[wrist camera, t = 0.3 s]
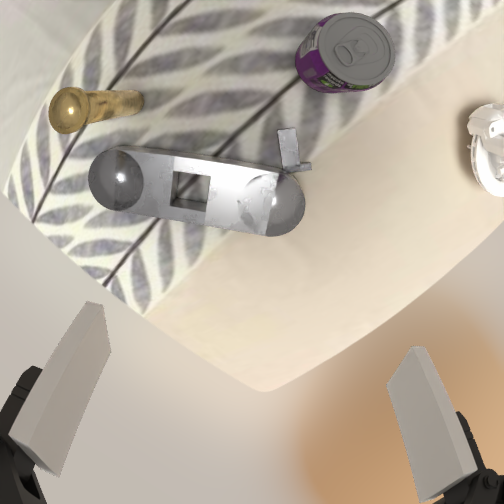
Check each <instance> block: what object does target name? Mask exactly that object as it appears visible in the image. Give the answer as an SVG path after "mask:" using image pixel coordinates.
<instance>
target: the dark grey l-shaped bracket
mask: <svg viewBox="0 0 504 504" xmlns="http://www.w3.org/2000/svg"><path fill="white" fill-rule="evenodd" d="M277 132H278V139H279V145H280V152H281V159H282V165H283V171H286V172H287V173H290V172H298V171H306V170H312V169H311V163H310V162H306V163H300V158H299V150H298V143H297V136H296V129H295V128H289V129H281V130H277Z"/></svg>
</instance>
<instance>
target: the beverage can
mask: <svg viewBox="0 0 504 504" xmlns="http://www.w3.org/2000/svg"><path fill="white" fill-rule="evenodd" d="M394 62H395V48H394V44H393V41H392V39H391V37H390V35H389V33H388V32H387V31H386V29H385V28H384V27H383V26H382V25H381V24H380V23H378V22H377V21H376V20H374V19H373V18H371V17H369V16H366V15H364V14H360V13H353V12H348V13H338V14H333V15H330V16H328V17H326V18H324V19H322V20H321V21H320V22H319V23H318V24H317V25H316V26H315V27H314V28H313V30H312V31H311V32H310V33H309V35H308V36H307V37H306V38H305V40H304V41H303V42H302V44H301V45H300V46H299V48H298V50H297V53H296V57H295V64H296V69H297V71H298V74H299V76H300V77H301V79H302V80H303V81H304V82H305V83H306V84H307V85H308V86H310V87H311V88H313V89H315V90H317V91H320V92H323V93H341V92H357V91H365V90H369V89H371V88H374V87H375V86H377V85H379V84H380V83H381V82H382V81H383V80H384V79H385V78H386V77H387V76H388V74H389V73H390V72H391V70H392V68H393V66H394Z"/></svg>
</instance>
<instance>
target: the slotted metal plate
mask: <svg viewBox="0 0 504 504" xmlns="http://www.w3.org/2000/svg"><path fill="white" fill-rule="evenodd" d="M179 171H180V172H187V173H194V174H201V175H207V176H211V180H210V187H209V194H208V201H207V203H204V202H198V201H192V200H186V199H179V198H176V195H177V185H178V176H179ZM88 181H89V187H90V190H91V192H92V194H93V196H94V198H95V199H96V200H97V201H98V202H99V203H100V204H101V205H102V206H104V207H106V208H108V209H110V210H115V211H121V212H127V213H133V214H140V215H146V216H152V217H158V218H164V219H170V220H176V221H182V222H188V223H194V224H200V225H206V226H212V227H217V228H223V229H229V230H235V231H240V232H246V233H252V234H257V235H263V236H279V235H283V234H286V233H288V232H289V231H291V230H292V229H294V228H295V227H296V226H297V225H298V224H299V222H300V221H301V219H302V217H303V215H304V211H305V198H304V194H303V192H302V190H301V187H300V185H299V183H298V181H297V180H296V179H295V177H294V176H293V175H292V174H290V173H287V172H286V171H283V169H281V168H277V167H272V166H267V165H261V164H256V163H251V162H245V161H239V160H234V159H228V158H221V157H215V156H209V155H202V154H195V153H188V152H181V151H173V150H165V149H157V148H148V147H138V146H128V145H122V146H117V147H114V148H112V149H110V150H107V151H105V152H103V153H101V154H100V155H98V156H97V157H96V158H95V159H94V161H93V162H92V164H91V166H90V170H89V175H88Z"/></svg>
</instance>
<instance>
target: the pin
mask: <svg viewBox="0 0 504 504" xmlns="http://www.w3.org/2000/svg"><path fill="white" fill-rule="evenodd" d="M143 104H144V99H143V96H142V95H141V93H139V92H138V91H131V90H112V91H84V90H82V89H81V88H78V87H67V88H63V89H61V90H60V91H58V92H57V93H56V94H55V96H54V97H53V99H52V100H51V103H50V106H49V120H50V123H51V125H52V127H53V128H54V129H55V130H56V131H57V132H59V133H61V134H70V133H73V132H76V131H78V130H80V129H81V128H82V127H83V126H84V125H86V124H90V123H94V122H99V121H103V120H108V119H113V118H118V117H123V116H129V115H134V114H137V113H138V112H139V111H140V110H141V109H142V107H143Z"/></svg>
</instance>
